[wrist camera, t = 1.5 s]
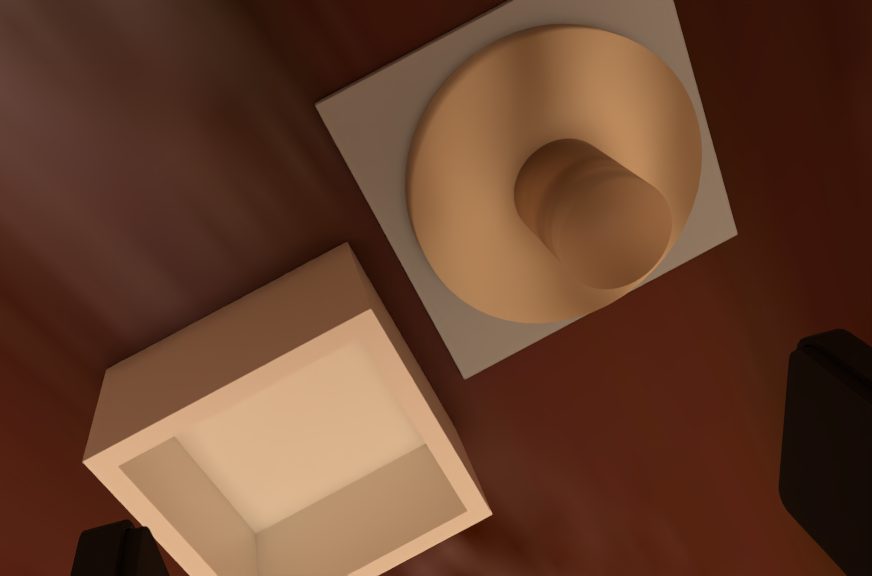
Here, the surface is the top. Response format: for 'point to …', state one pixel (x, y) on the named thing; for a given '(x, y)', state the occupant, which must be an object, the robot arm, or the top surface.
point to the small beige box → (286, 435)
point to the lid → (553, 172)
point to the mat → (408, 99)
